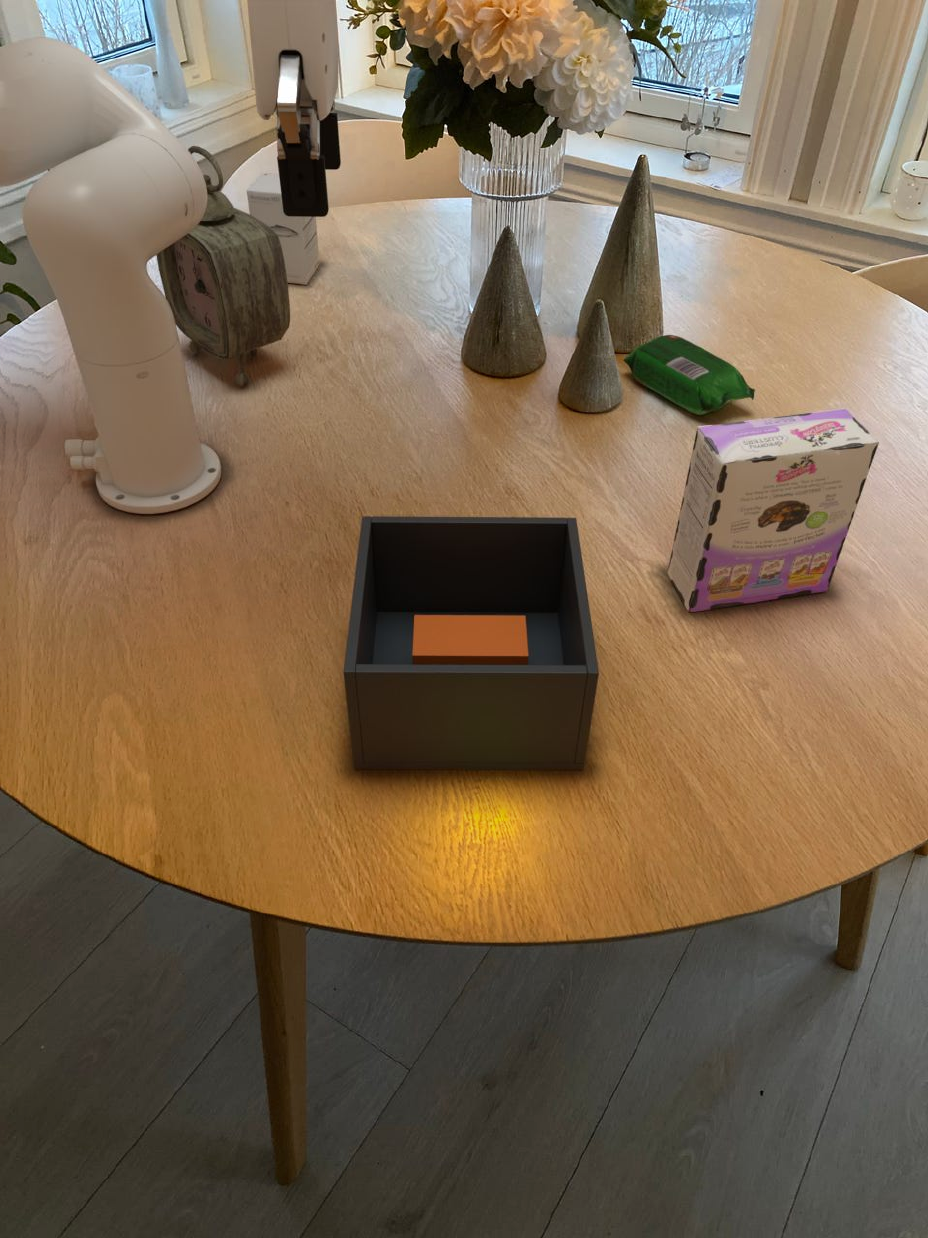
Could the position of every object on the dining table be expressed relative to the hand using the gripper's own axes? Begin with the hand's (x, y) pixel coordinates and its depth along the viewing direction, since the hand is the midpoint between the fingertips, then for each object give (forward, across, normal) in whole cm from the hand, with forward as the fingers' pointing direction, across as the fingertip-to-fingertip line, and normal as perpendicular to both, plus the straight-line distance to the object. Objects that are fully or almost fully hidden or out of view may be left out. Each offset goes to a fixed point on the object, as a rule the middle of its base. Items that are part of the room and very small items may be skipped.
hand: (313, 190), depth 73 cm
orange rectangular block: (+32, +21, +12) cm, 40 cm away
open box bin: (+32, +21, +12) cm, 40 cm away
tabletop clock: (+32, -33, -16) cm, 49 cm away
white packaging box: (+32, -59, -13) cm, 69 cm away
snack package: (+32, -26, +38) cm, 56 cm away
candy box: (+32, +8, +38) cm, 51 cm away
